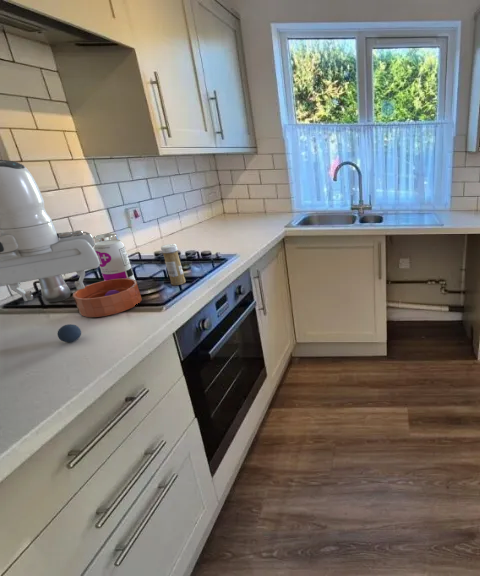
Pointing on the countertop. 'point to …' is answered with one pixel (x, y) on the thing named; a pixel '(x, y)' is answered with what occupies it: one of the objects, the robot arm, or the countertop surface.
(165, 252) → the sprinkles bottle
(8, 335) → the countertop surface
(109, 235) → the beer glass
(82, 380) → the countertop surface
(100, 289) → the bowl
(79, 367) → the countertop surface
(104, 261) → the supplement can
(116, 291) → the plum ball
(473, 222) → the countertop surface
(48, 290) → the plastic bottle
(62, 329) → the slate ball
